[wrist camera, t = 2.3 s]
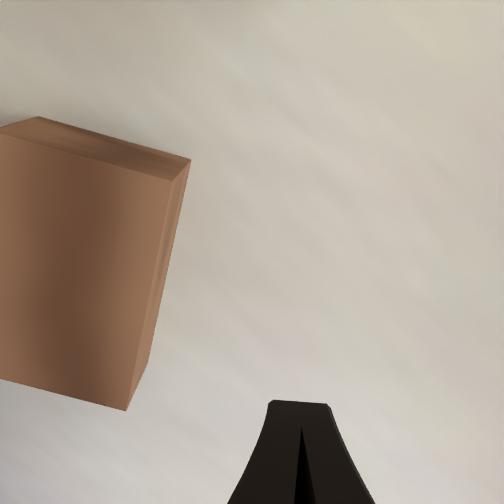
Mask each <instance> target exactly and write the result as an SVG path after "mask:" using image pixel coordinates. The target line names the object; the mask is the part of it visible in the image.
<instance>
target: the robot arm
mask: <svg viewBox="0 0 504 504" xmlns="http://www.w3.org/2000/svg"><path fill="white" fill-rule="evenodd" d="M227 504H375V502H374V500H373V498H372V497H371V495H370V493H369V491H368V490H367V488H366V486H365V484H364V482H363V480H362V478H361V476H360V474H359V472H358V471H357V469H356V467H355V465H354V463H353V461H352V459H351V457H350V455H349V452H348V450H347V448H346V446H345V444H344V441H343V439H342V437H341V435H340V432H339V430H338V427H337V425H336V422H335V419H334V417H333V414H332V410H331V408H330V407H329V406H328V405H327V404H324V403H310V402H297V401H283V400H272V401H271V402H270V403H268V409H267V414H266V418H265V421H264V425H263V428H262V431H261V433H260V436H259V439H258V441H257V444H256V446H255V448H254V451H253V453H252V455H251V457H250V460H249V462H248V464H247V466H246V469H245V471H244V473H243V475H242V477H241V479H240V481H239V482H238V484H237V486H236V488H235V490H234V492H233V494H232V496H231V497H230V499H229V501H228V503H227Z"/></svg>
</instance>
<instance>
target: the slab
mask: <svg viewBox="0 0 504 504" xmlns="http://www.w3.org/2000/svg"><path fill="white" fill-rule="evenodd" d="M190 164H191V159H187V158H184V157H180V156H177V155H173V154H169V153H166V152H162V151H159V150H155V149H152V148H148V147H145V146H141V145H138V144H134V143H131V142H127V141H124V140H120V139H117V138H113V137H109V136H106V135H102V134H99V133H95V132H92V131H88V130H85V129H81V128H78V127H74V126H71V125H67V124H64V123H60V122H56V121H53V120H49V119H46V118H42V117H39V116H38V117H35V118H31V119H28V120H24V121H21V122H17V123H14V124H10V125H7V126H3V127H0V379H4V380H8V381H11V382H15V383H19V384H23V385H27V386H31V387H34V388H38V389H42V390H46V391H50V392H54V393H57V394H61V395H65V396H69V397H73V398H77V399H80V400H84V401H88V402H92V403H96V404H100V405H103V406H107V407H111V408H115V409H119V410H123V411H126V410H127V408H128V405H129V403H130V401H131V399H132V397H133V394H134V392H135V390H136V388H137V385H138V383H139V381H140V379H141V377H142V374H143V372H144V370H145V368H146V365H147V363H148V358H149V354H150V349H151V344H152V340H153V335H154V330H155V326H156V321H157V317H158V312H159V307H160V303H161V298H162V293H163V289H164V284H165V279H166V275H167V270H168V266H169V261H170V256H171V252H172V247H173V242H174V238H175V233H176V229H177V224H178V219H179V215H180V210H181V205H182V201H183V196H184V192H185V187H186V182H187V178H188V173H189V168H190Z"/></svg>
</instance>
